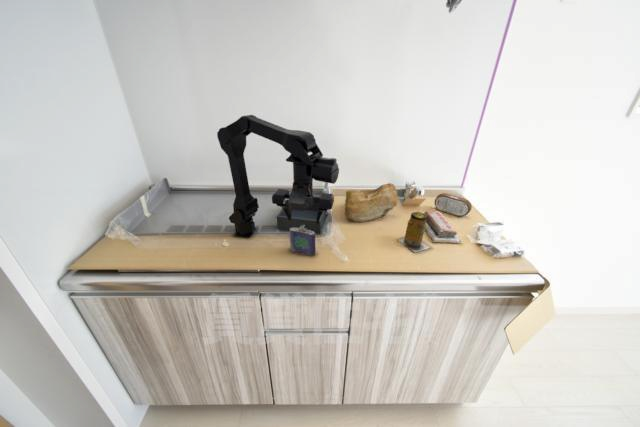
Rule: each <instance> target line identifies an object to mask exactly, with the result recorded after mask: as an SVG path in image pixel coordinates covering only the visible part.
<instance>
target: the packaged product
mask: <svg viewBox="0 0 640 427" xmlns="http://www.w3.org/2000/svg"><path fill="white" fill-rule="evenodd" d="M423 213H424V214H425V215H426V216H427V219H426V228H425V231H426V233H427V234H428V236H429V237H430V238H431V240H432V242H433V243H456V244H460V243H461V241H462V240H461V239H460V238H459V237H458V236H457V234H458V232H457V231H456V229H454V227H453V226H452V225H451V224H450V222H449V220H447V218H446V217H445V216H444V215H443V214H442V212H441V211H439V210H425V211H424V212H423Z"/></svg>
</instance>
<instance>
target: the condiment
mask: <svg viewBox="0 0 640 427" xmlns="http://www.w3.org/2000/svg"><path fill="white" fill-rule="evenodd" d="M424 213H425V212H421V211H413V212H412V213H411V214H410V218H409V219H408V221H407V226H406V230H405V235H404V238H400V239H398V241H399V242H400V243H401V244H403V245H404V246H405V247H406V248H408V249H409V250H411V251H412V252H414V253H419V252H423V251H425V250H429V249H430V246H428V245H427V244H425V243H424V242H423V239H424V235H425V231H426V230H425V228H426V219H427V216H426V215H425V214H424Z"/></svg>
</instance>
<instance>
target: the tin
mask: <svg viewBox="0 0 640 427" xmlns="http://www.w3.org/2000/svg"><path fill="white" fill-rule="evenodd" d="M434 206H435V208H436V209H437V211H439V212H443V213H446V214H449V215H453V216H455V217H461V218H462V217H465V216H467V215H469V213H470V212H471V210H472V208H473V206H472V204H471V202H470V200H468V199H467V198H464V197H460V196H457V195H454V194H451V193H447V192H442V193H439V194H438V195H437V196H436V197H435V198H434Z"/></svg>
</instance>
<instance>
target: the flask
mask: <svg viewBox="0 0 640 427" xmlns="http://www.w3.org/2000/svg"><path fill="white" fill-rule="evenodd" d="M304 226H305V225H303V226H301V227H300V228H290V230H288V232H289V249H290V251H291V252H292V253H296V254H299V255H305V256H308V257H315V256H316V250H317V249H316V233H315V232H313V231H311V230H307V229H306V228H304Z"/></svg>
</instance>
